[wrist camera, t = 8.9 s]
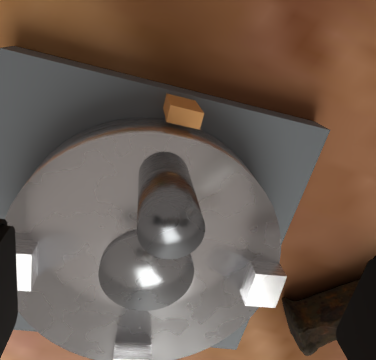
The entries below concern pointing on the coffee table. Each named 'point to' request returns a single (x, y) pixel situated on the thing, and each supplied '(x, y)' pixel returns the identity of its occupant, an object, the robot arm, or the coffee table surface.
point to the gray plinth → (142, 108)
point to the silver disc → (143, 242)
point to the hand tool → (317, 316)
